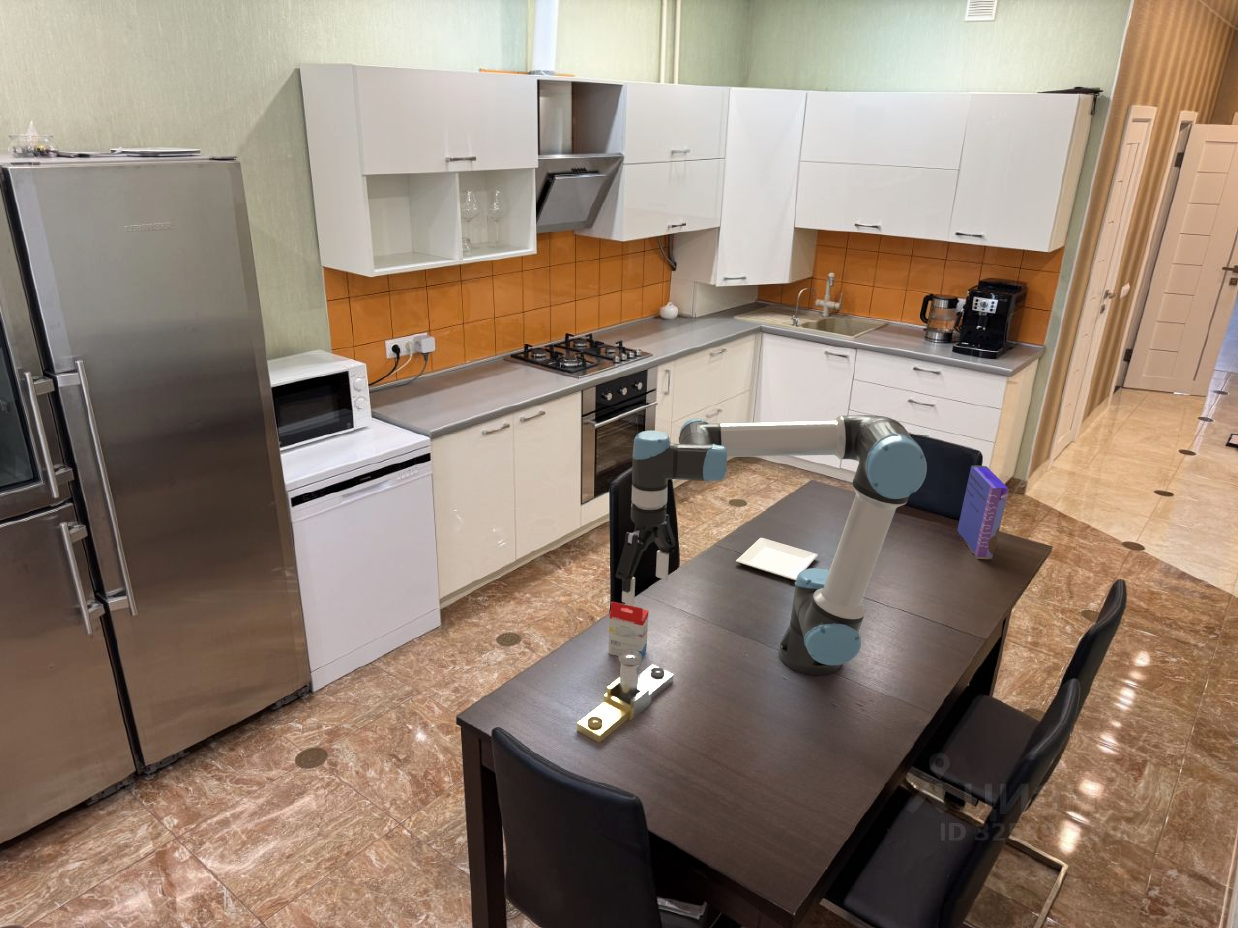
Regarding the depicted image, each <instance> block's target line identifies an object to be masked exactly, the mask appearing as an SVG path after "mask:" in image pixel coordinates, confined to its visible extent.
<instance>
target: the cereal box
mask: <svg viewBox="0 0 1238 928" xmlns="http://www.w3.org/2000/svg"><path fill="white" fill-rule="evenodd" d="M968 474H969V476H968V479H967V485H966V489H965V494H964V499H963V502H962V508H961V510H960V511H961V512H960V517H959V521H958V524H957V525H958V526H957V530H956V532H957V531H958V532H959V534H960V535H961V536H962V537H963V538H964V540H965V541H966V542H967V543H968V545H969V546H970V548H971V549H972V550H973V552H974V553H975V554H976V556H977V557H993V558H994V553H995V550H996V545H997V542H998V538H999V534H1000V533H999V532H1000V529H1001V525H1002V520H1003V516H1004V513H1005V507H1006V504H1007V499H1008V494H1009V491H1010V489H1009V487H1008V486H1007V485H1006V484H1005V483H1004V482H1003V481H1002V480H1001V479H1000V478H999V477H998V476H997V475H996V474H995V473H994V472H993V471H992V470H991V469H990V468H989V467H988V466H987V465H979V464H978V465H977V464H975V465H971V466H970V471H969V473H968Z"/></svg>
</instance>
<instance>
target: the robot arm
mask: <svg viewBox="0 0 1238 928" xmlns="http://www.w3.org/2000/svg"><path fill="white" fill-rule="evenodd" d="M790 456H791V457H794V456H835V457H837V459H839V460H852V461H856V462H858V464H857V468H856V471H855V474H854V477H853V480H852V482H851V487H852V488H853V490H854V492H855V496H854V499H853V502H852V504H851V508H850V510H849V514H848V516H847V518H846V519H847V520H846V522H845V526H844V528H843V531H842V533H841V537H840V539H839V543H838V545H837V548H836V550H835V553H834V557H833V560H832V563H831V565H830V568H829V569H825V568H817V567H816V568H815V567H813V568H806V569H805V570H803V571H801V572H800V573H799V574H798V575H797V579H796V580H795V582H794V592H793V600H792V606H791V607H792V608H791V615H790V623H789V626H788V627H787V630H786V631H785V633H784V634H783V636H782V638H781V639H780V642H779V646H778V647H779V648H778V656H779V658H780V660H781V661H782V662H783V663H784V665H786V666H787V667H788V668H790V669H792V670H794V671H796V672H799V673H802V674H805V675H811V676H825V675H830V674H833V673H834V672H837V671H838V670H839V669H840V667H841V665H843V664H844V663H849V662H850V661H852V660H853V659H855V657H857V656H858V654H859V652H860V650H861V647H862V637H861V634H860V633H859V632H860V628H861V625H862V623H863V620H864V617H865V615H866V612H867V611H866V610H867V609H866V607H865V605H864V603H863V599H864V596H865V594H866V591H867V588H868V586H869V583H870V581H871V577H872V575H873V573H874V570H875V568H876V567H875V566H876V564H877V562H878V558H879V556H880V553H881V551H882V548H883V545H884V543H885V540H886V537H887V534H888V531H889V529H890V526H891V524H892V521H893V519H894V516H895V513H896V510H897V508H898V507H901V506H904V505H906V504H907V502H908V500H909V497H910V495H912V494H913V493H916V492H917V491H919V489H920V488H921V487H922V485H923V484H924V481H925V479H926V476H927V471H928V469H927V468H928V467H927V466H928V465H927V464H928V463H927V461H926V460H927V459H926V457H925V454H924V451H923V449H922V448H921V446H920V445H919V443H918V442H917V441H916V440H914V439H913V437H911V435H910V434H909V432H908V431H907V429H906V428H905V427H904V425H903V424H902V423H900V422H899V421H897V420H896V419H893V418H891V417H888V416H883V415H875V414H874V415H872V414H852V415H847V414H846V415H838V416H837V417H836V418H835V419H834V420H812V421H811V420H807V421H804V420H803V421H802V420H801V421H800V420H799V421H774V422H773V421H772V422H771V421H768V422H766V421H765V422H735V423H733V422H732V423H728V422H727V423H709V422H708V421H706V420H705V419H702V418H697V417H696V418H691V419H689V420H686V421H685V422H684V423H683V425H682V426H681V427H680V430H679V437H678V443H675V442H671V438H670V436H669V434H667V433H666V432H664V431H658V430H645V431H641V432H639V433H638V434H636V435H635V437H634V439H633V448H632V465H631V466H632V468H631V469H632V470H631V472H632V473H631V474H632V476H631V483H632V484H631V505H630V520H631V521H632V522H633V523H634V530H633V532H628V531H626V533H625V535H624V536H625V538H624V544H623V547H622V552H621V554H620V557H619V562H618V565H617V569H616V572H615V578H617V579H619V580H621V591H622V592H621V602H622V603H623V604H624V603H625V604H626V605H630V606H634V605H635V593H636V592H635V590H636V588H635V587H636V577H634V576H635V573H636V570H637V568H638V565H639V563H640V562H641V561H640V560H641V558H642V555H643V553H644V552H646V551H647V549H648V546H649V545H650V544H651V543H653V542H654V543H655V545H656V546H657V547H658V549H659V550H657V551H656V563H655V564H656V567H655V577H657V578H659V579H662V580H664V581H667V580H668V579H669V578H668V577H669V561H670V560H669V559H670V553H671V554H673V553H674V551H675V548H674V547H676V540H675V537H674V533H673V530H672V526H671V523H670V521H671V520H670V514H667V504H668V485H669V484H668V483H669V481H668V480H678V481H679V480H681V481H682V480H683V481H696V482H697V481H698V482H699V481H701V482H721V481H723V480H724V479H725V478H726V476H727V468H728V466H727V465H728V458H734V457H735V458H737V457H738V458H739V457H742V458H743V457H744V458H745V457H746V458H747V457H749V458H750V457H790Z"/></svg>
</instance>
